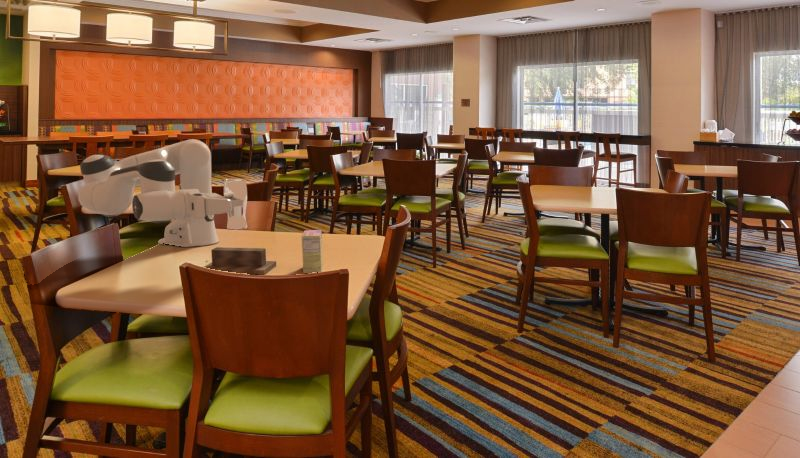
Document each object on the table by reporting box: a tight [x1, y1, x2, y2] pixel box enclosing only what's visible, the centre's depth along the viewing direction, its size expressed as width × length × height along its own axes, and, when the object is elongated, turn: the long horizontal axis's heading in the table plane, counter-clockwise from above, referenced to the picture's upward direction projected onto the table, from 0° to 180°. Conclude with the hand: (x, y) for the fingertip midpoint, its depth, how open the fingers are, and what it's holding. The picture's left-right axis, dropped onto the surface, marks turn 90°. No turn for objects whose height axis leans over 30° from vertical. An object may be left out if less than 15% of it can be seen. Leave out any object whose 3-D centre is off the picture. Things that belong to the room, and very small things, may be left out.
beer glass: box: [223, 178, 248, 231], centre depth 189 cm, size 7×7×15 cm
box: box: [301, 229, 324, 274], centre depth 192 cm, size 10×6×12 cm, turn 5°
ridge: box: [203, 246, 277, 276], centre depth 192 cm, size 20×12×6 cm, turn 84°
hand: (238, 200), depth 189 cm, fingers closed on beer glass, 7 cm apart
